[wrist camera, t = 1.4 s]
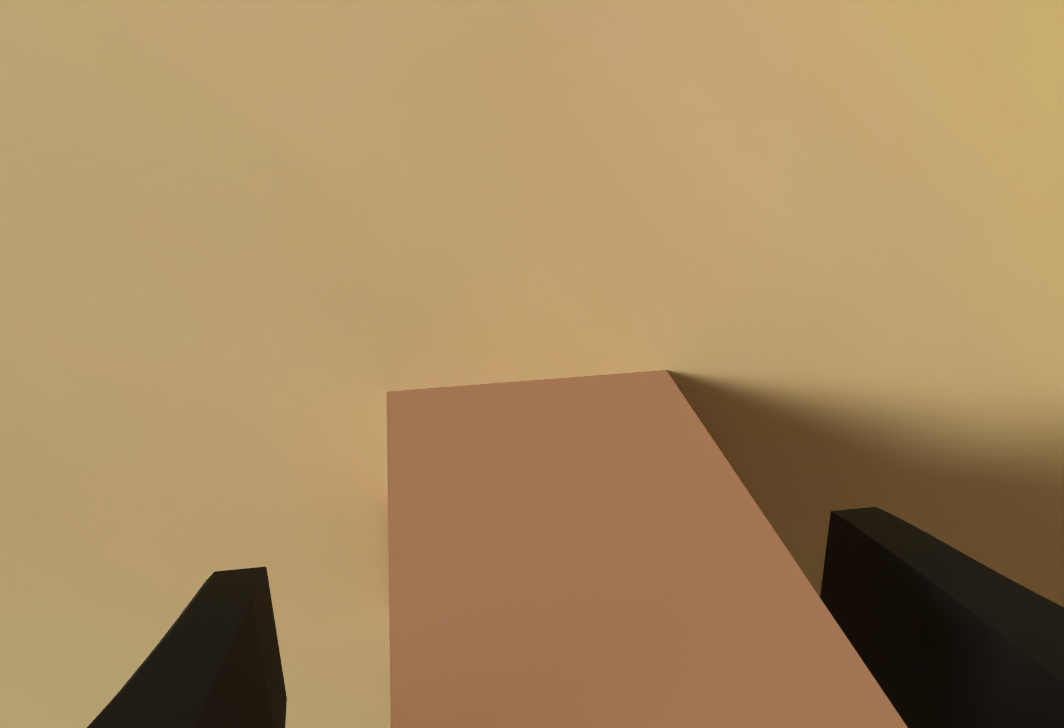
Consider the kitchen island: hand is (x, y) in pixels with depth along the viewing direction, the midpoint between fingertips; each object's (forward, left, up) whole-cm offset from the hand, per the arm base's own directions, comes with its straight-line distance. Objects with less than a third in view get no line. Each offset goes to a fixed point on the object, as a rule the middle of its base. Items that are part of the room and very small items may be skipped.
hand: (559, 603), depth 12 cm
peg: (0, 0, -2) cm, 2 cm away
